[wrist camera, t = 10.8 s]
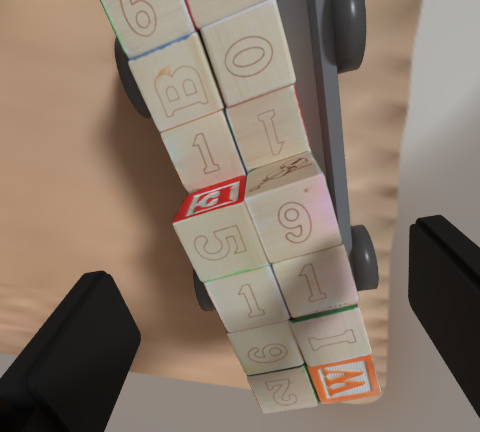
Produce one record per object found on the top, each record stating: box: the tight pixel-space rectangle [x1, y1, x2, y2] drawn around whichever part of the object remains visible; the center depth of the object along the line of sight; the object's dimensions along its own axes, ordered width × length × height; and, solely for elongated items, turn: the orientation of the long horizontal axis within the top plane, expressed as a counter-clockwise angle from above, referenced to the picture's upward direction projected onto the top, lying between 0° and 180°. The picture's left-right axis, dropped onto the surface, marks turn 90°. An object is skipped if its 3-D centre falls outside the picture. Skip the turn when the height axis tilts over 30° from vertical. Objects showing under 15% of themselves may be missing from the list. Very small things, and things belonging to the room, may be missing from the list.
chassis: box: [115, 0, 379, 311], centre depth 22 cm, size 26×13×5 cm, turn 12°
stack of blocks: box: [100, 0, 381, 413], centre depth 17 cm, size 21×6×12 cm, turn 19°
